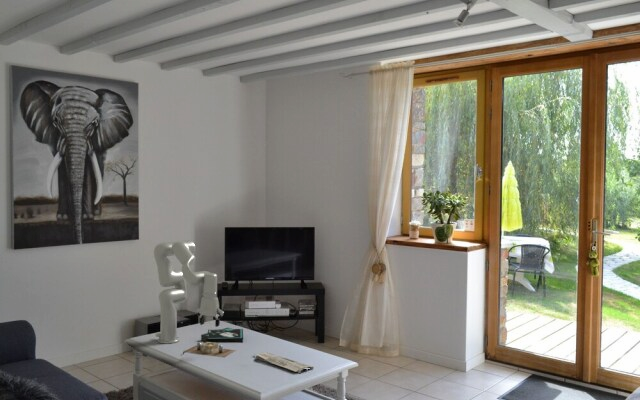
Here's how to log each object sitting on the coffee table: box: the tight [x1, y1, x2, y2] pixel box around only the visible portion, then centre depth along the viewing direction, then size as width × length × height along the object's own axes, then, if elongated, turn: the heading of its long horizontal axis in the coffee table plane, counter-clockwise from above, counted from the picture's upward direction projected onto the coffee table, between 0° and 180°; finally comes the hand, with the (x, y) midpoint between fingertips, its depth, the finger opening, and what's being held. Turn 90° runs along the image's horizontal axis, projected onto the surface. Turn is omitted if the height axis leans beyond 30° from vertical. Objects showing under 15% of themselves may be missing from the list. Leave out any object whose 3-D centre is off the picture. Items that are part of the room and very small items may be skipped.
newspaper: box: [254, 351, 315, 374], centre depth 312 cm, size 35×12×4 cm, turn 48°
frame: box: [201, 342, 219, 353], centre depth 328 cm, size 7×7×4 cm
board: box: [182, 342, 237, 358], centre depth 328 cm, size 26×14×5 cm, turn 71°
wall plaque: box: [200, 327, 244, 344], centre depth 357 cm, size 30×4×30 cm
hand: (209, 325), depth 328 cm, fingers open, 9 cm apart
